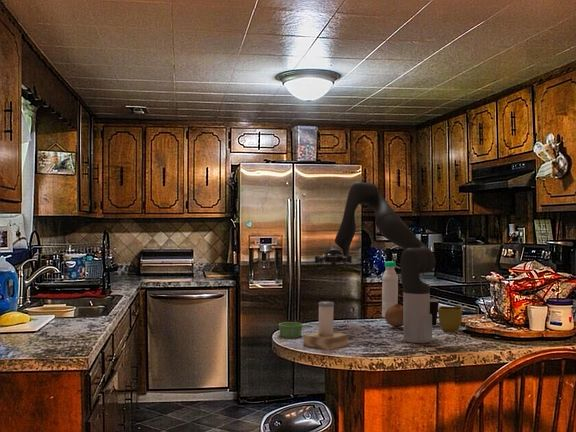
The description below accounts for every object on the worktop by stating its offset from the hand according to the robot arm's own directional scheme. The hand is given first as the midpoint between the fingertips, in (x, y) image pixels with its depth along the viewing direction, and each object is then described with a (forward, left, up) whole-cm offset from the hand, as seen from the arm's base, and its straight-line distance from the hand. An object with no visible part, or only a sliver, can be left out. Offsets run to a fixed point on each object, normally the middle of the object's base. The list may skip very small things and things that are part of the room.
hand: (332, 260), depth 209 cm
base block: (-10, +16, -28) cm, 34 cm away
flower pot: (-29, -38, -28) cm, 56 cm away
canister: (-10, +16, -25) cm, 31 cm away
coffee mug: (-15, -46, -28) cm, 56 cm away
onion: (-11, -28, -28) cm, 41 cm away
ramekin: (+10, +12, -28) cm, 33 cm away
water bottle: (+5, -48, -28) cm, 56 cm away
